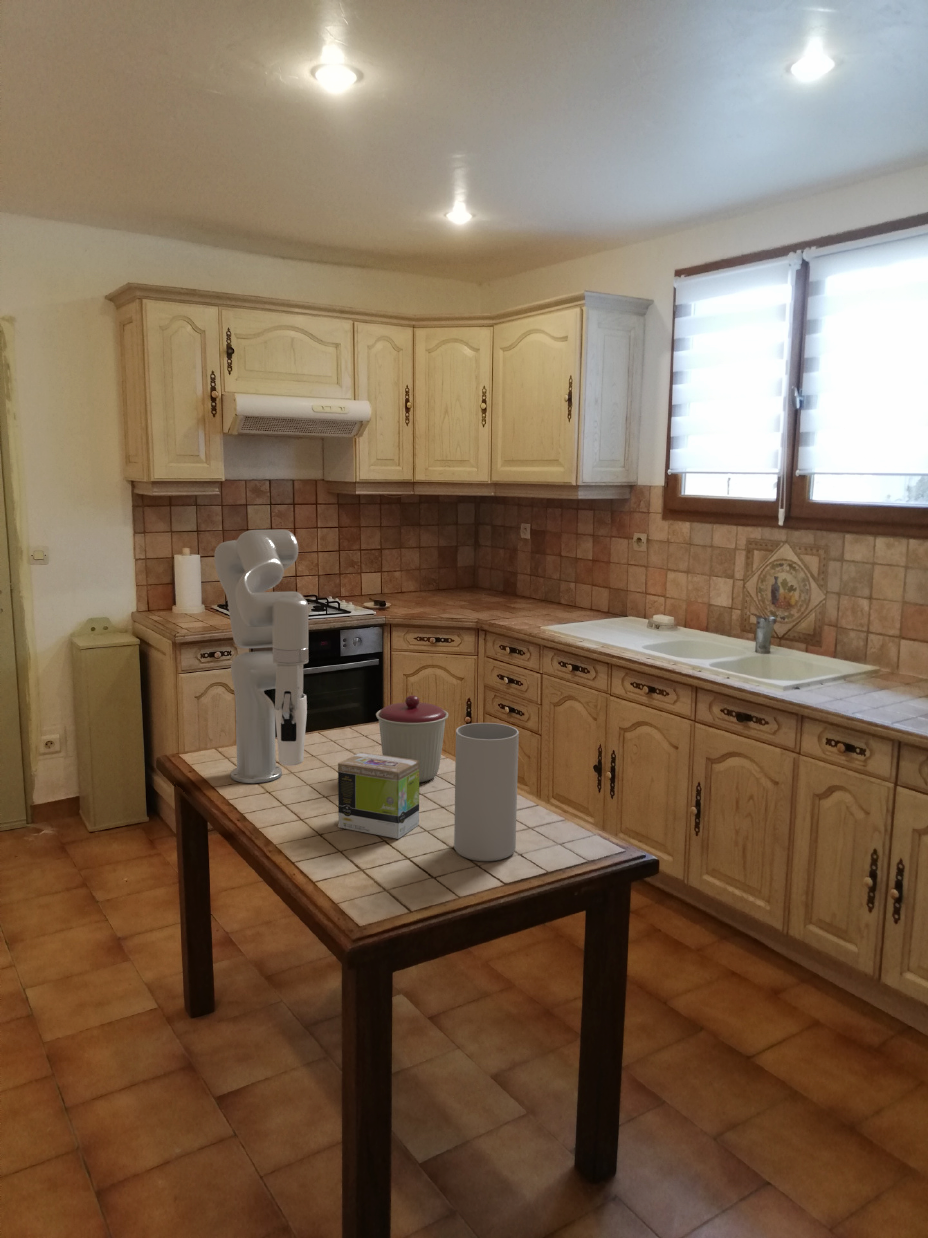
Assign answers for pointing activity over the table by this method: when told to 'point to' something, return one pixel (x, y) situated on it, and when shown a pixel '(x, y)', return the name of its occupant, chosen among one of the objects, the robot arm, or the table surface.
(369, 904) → the table surface
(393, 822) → the tea box
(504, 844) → the cylinder vase
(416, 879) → the table surface
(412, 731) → the canister
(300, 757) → the white tumbler cup
